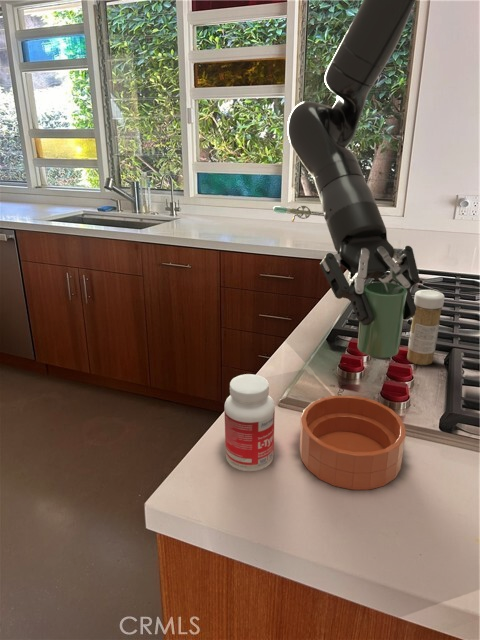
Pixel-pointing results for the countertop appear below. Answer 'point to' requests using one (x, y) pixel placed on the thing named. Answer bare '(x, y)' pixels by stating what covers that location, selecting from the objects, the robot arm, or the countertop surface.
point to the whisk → (296, 211)
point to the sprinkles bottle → (425, 326)
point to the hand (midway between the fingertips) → (389, 319)
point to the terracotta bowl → (352, 442)
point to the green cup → (383, 320)
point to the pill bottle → (249, 423)
